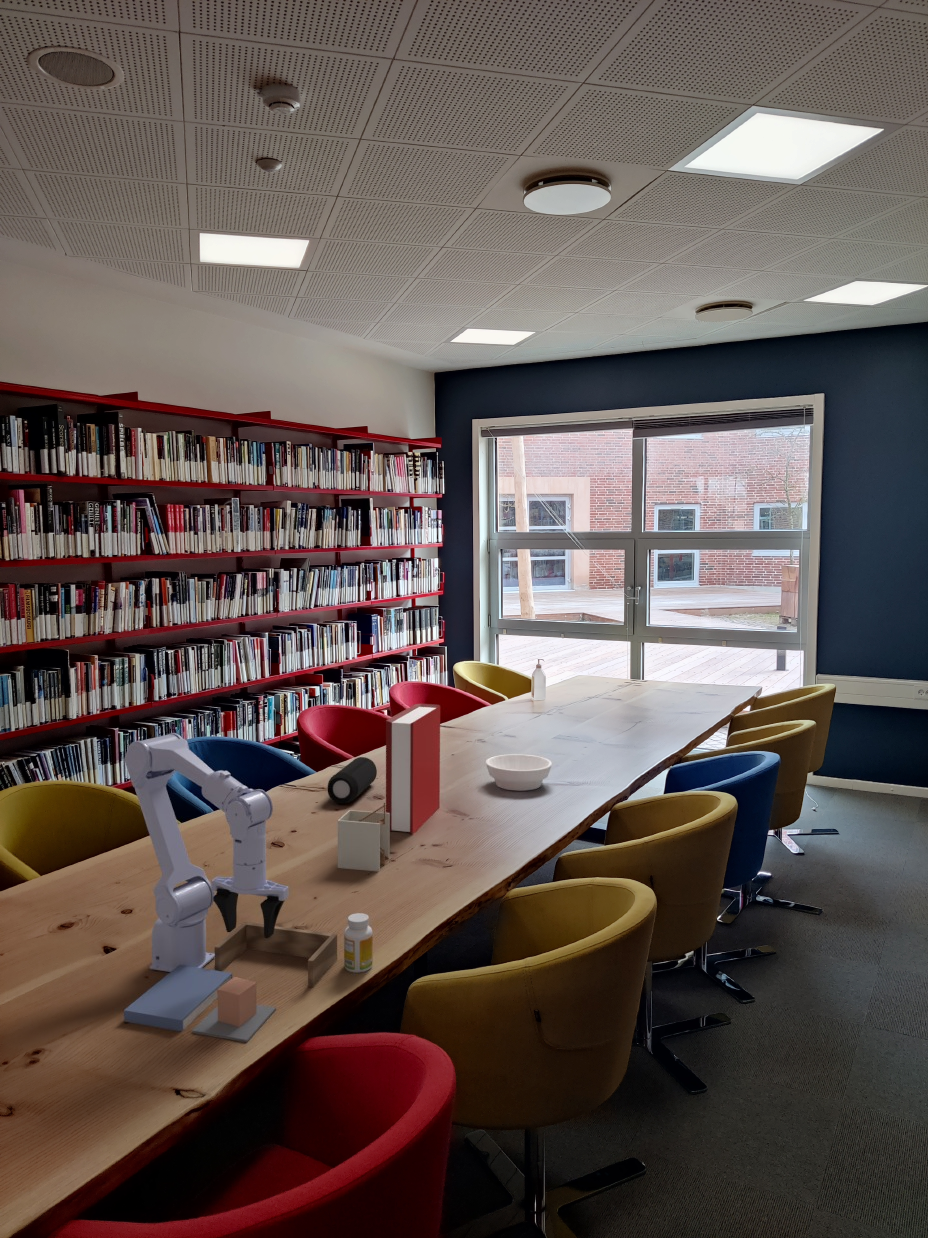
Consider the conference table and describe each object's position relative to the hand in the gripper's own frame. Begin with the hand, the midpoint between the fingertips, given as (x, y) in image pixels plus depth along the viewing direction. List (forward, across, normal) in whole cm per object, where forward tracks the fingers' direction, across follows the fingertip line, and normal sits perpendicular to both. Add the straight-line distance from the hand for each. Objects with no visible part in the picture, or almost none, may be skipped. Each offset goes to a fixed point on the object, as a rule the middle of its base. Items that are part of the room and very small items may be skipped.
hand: (250, 933), depth 151 cm
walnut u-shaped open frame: (+10, -1, -9) cm, 13 cm away
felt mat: (+10, -3, +10) cm, 15 cm away
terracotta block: (+10, -3, +10) cm, 14 cm away
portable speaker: (+11, +30, -117) cm, 121 cm away
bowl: (+11, -19, -143) cm, 145 cm away
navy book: (+11, +9, +8) cm, 16 cm away
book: (+11, +3, -100) cm, 100 cm away
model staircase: (+11, +4, -62) cm, 63 cm away
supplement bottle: (+10, -16, -13) cm, 23 cm away
